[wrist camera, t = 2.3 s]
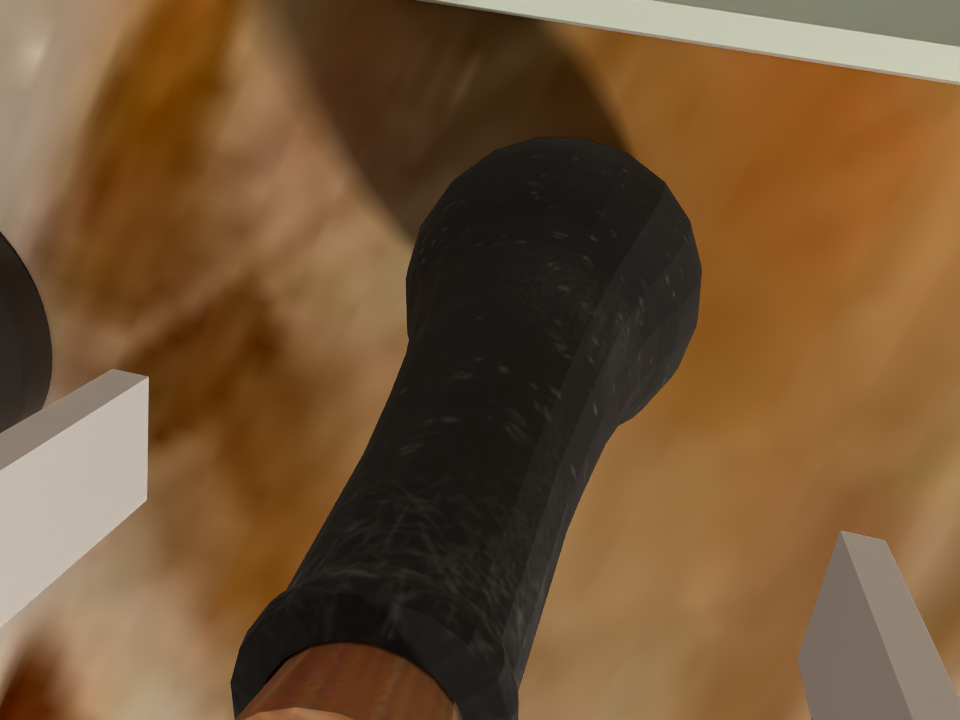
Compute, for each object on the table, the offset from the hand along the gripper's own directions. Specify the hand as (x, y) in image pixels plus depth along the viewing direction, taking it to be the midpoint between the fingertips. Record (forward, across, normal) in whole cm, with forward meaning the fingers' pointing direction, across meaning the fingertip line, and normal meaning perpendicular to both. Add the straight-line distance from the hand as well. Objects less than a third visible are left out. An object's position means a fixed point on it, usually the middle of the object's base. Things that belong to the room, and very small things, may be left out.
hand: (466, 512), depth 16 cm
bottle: (+23, 0, 0) cm, 23 cm away
